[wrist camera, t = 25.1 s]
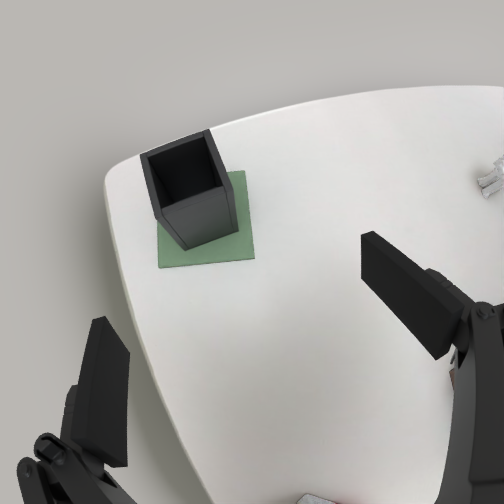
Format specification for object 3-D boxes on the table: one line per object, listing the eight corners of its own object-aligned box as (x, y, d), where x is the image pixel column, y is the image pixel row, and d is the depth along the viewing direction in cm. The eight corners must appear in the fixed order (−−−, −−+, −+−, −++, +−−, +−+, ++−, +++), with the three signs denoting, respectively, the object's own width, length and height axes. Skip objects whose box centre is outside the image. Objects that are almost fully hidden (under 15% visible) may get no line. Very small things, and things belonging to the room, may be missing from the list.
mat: (159, 268, 30) (158, 267, 30) (158, 183, 32) (157, 181, 32) (254, 258, 30) (254, 257, 30) (244, 172, 33) (244, 170, 32)
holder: (239, 231, 31) (233, 189, 21) (184, 251, 30) (155, 218, 20) (220, 182, 32) (209, 128, 22) (169, 201, 31) (139, 154, 22)
